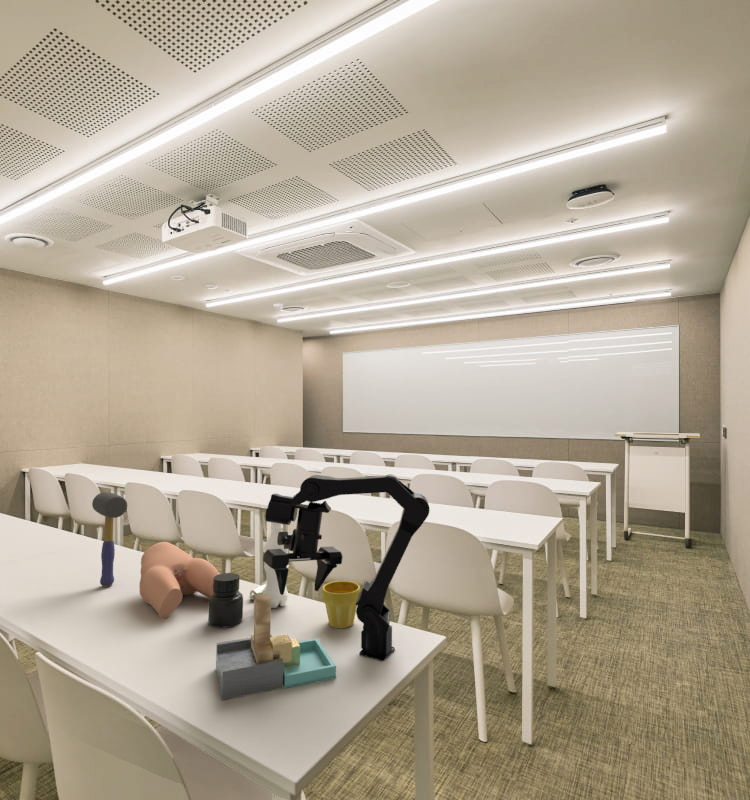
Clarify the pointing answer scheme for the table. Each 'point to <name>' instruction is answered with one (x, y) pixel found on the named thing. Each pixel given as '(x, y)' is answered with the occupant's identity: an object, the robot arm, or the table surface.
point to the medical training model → (173, 577)
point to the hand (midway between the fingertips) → (299, 592)
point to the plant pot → (340, 602)
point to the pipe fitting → (258, 590)
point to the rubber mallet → (108, 530)
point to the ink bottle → (225, 601)
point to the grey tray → (245, 670)
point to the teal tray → (309, 665)
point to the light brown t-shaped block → (262, 628)
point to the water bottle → (270, 572)
